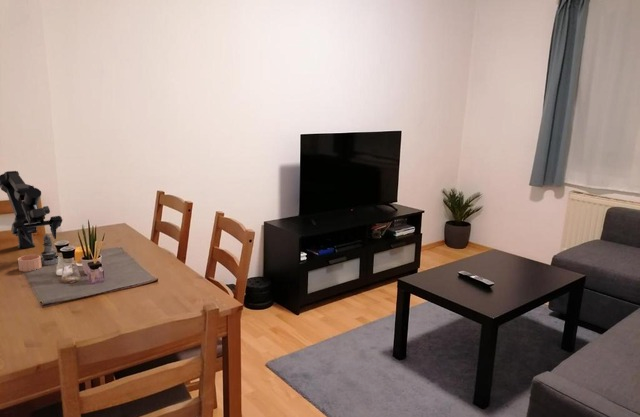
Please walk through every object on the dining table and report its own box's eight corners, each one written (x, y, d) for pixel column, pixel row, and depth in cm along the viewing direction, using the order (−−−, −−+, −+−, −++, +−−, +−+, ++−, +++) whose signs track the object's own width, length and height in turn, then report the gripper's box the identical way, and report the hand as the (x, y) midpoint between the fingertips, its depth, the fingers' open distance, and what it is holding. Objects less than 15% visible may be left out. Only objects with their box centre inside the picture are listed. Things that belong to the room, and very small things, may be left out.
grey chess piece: (59, 258, 198) (57, 231, 196) (54, 262, 193) (51, 235, 190) (45, 258, 197) (42, 231, 195) (39, 262, 192) (36, 235, 189)
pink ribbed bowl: (18, 267, 188) (17, 256, 187) (40, 263, 193) (39, 253, 192) (19, 272, 182) (18, 262, 181) (42, 269, 187) (41, 258, 186)
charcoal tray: (36, 261, 195) (36, 257, 194) (56, 257, 200) (56, 253, 200) (43, 266, 190) (42, 262, 189) (63, 261, 195) (63, 257, 195)
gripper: (9, 203, 189) (21, 235, 185) (58, 197, 203) (70, 226, 198) (6, 218, 196) (17, 249, 191) (54, 212, 210) (65, 240, 205)
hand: (43, 240), depth 196 cm, fingers open, 9 cm apart
